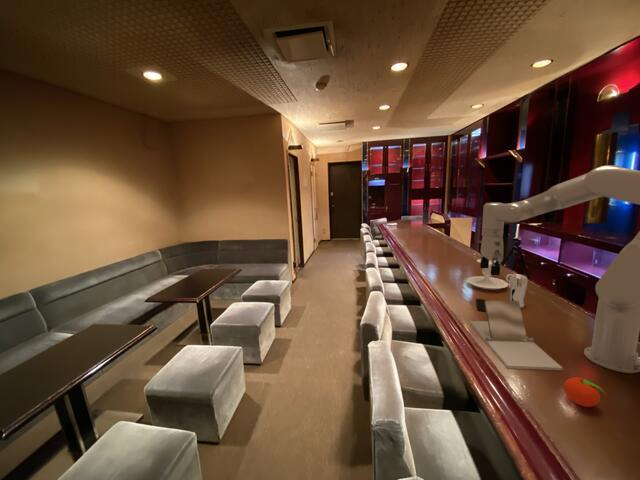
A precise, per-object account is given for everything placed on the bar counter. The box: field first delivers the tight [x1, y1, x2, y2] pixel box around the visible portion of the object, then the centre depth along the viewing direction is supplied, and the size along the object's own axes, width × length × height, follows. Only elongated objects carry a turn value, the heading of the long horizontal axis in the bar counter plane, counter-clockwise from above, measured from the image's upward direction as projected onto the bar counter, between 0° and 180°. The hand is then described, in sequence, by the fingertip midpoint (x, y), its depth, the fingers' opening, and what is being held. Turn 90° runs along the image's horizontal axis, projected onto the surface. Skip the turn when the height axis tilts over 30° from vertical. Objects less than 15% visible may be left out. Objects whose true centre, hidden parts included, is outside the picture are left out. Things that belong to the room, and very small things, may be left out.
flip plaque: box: [484, 300, 528, 339], centre depth 101 cm, size 14×12×1 cm
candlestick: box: [466, 258, 513, 291], centre depth 151 cm, size 21×25×28 cm
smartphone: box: [475, 298, 491, 313], centre depth 130 cm, size 7×1×15 cm
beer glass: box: [508, 273, 528, 309], centre depth 128 cm, size 7×7×15 cm
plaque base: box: [469, 320, 563, 372], centre depth 99 cm, size 30×16×2 cm, turn 172°
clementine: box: [563, 376, 607, 408], centre depth 70 cm, size 8×7×7 cm
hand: (489, 271), depth 113 cm, fingers open, 9 cm apart
